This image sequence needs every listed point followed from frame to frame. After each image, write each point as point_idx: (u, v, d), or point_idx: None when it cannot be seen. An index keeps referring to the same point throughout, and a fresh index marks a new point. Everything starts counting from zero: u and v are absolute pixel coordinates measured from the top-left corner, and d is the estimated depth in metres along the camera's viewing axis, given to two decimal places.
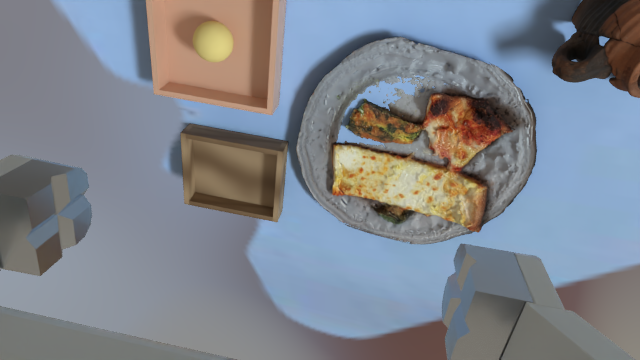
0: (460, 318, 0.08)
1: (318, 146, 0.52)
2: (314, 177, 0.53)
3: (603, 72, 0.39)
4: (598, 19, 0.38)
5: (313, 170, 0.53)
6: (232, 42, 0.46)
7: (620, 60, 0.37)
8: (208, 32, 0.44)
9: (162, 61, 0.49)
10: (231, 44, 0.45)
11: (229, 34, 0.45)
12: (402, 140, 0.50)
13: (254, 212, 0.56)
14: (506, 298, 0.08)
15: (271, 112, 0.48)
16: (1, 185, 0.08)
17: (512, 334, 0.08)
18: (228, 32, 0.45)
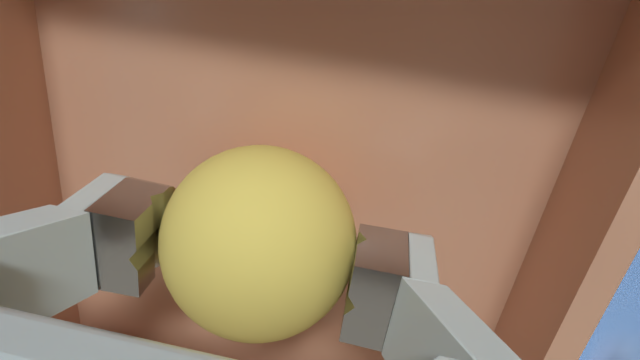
0: None
1: None
2: None
3: None
4: None
5: None
6: (257, 151, 0.09)
7: None
8: (167, 268, 0.08)
9: None
10: (258, 159, 0.08)
11: (214, 157, 0.09)
12: None
13: None
14: (384, 273, 0.08)
15: None
16: (106, 207, 0.08)
17: (393, 309, 0.08)
18: (205, 162, 0.09)
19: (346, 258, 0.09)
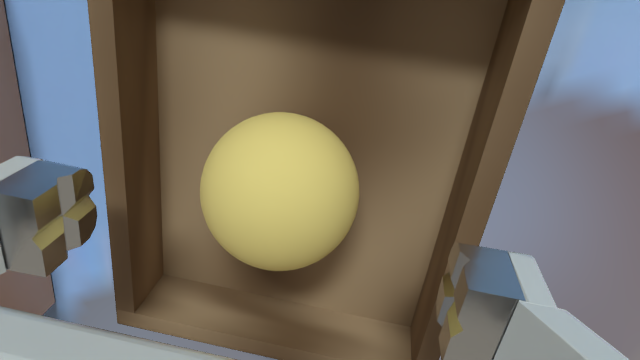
0: (453, 317, 0.08)
1: None
2: None
3: None
4: None
5: None
6: (280, 115, 0.11)
7: None
8: (207, 203, 0.10)
9: None
10: (280, 120, 0.11)
11: (246, 120, 0.11)
12: None
13: (495, 104, 0.10)
14: (499, 296, 0.08)
15: None
16: (7, 187, 0.08)
17: (504, 333, 0.08)
18: (239, 124, 0.11)
19: (349, 202, 0.11)
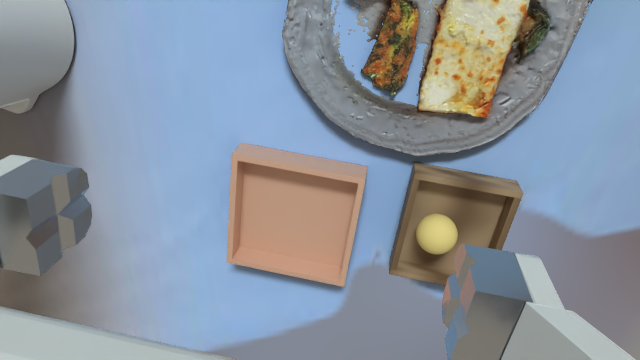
0: (460, 318, 0.08)
1: (418, 128, 0.43)
2: (460, 137, 0.42)
3: None
4: None
5: (449, 137, 0.42)
6: (440, 215, 0.44)
7: None
8: (417, 230, 0.45)
9: (316, 269, 0.50)
10: (439, 217, 0.44)
11: (432, 214, 0.45)
12: (412, 23, 0.39)
13: (505, 218, 0.44)
14: (506, 298, 0.08)
15: (362, 179, 0.43)
16: (1, 185, 0.08)
17: (512, 334, 0.08)
18: None
19: (448, 241, 0.43)
